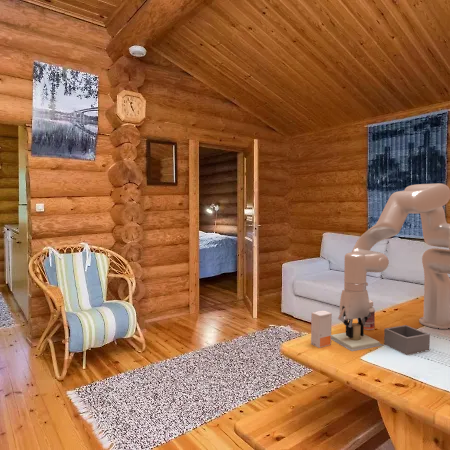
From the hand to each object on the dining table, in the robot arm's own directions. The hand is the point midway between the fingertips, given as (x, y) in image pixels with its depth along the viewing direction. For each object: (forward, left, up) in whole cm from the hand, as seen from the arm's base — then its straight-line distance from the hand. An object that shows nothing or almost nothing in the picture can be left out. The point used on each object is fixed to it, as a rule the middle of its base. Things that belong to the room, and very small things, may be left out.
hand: (354, 335), depth 132 cm
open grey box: (-13, +11, -2) cm, 17 cm away
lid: (0, 0, -2) cm, 2 cm away
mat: (0, 0, -2) cm, 2 cm away
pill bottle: (-14, -10, -3) cm, 17 cm away
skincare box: (+13, -2, -3) cm, 13 cm away
